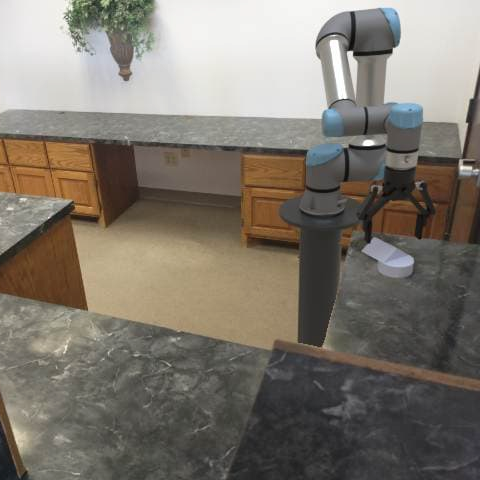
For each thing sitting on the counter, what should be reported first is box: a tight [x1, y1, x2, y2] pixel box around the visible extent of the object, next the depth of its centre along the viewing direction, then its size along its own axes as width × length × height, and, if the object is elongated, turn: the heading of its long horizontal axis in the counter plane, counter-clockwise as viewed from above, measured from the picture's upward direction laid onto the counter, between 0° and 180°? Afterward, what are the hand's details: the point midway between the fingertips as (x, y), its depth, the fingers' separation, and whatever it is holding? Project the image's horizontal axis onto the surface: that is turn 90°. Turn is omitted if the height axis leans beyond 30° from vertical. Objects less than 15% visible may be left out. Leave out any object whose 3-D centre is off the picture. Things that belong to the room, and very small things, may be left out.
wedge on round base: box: [361, 236, 415, 279], centre depth 143 cm, size 9×7×13 cm
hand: (392, 239), depth 140 cm, fingers open, 13 cm apart
